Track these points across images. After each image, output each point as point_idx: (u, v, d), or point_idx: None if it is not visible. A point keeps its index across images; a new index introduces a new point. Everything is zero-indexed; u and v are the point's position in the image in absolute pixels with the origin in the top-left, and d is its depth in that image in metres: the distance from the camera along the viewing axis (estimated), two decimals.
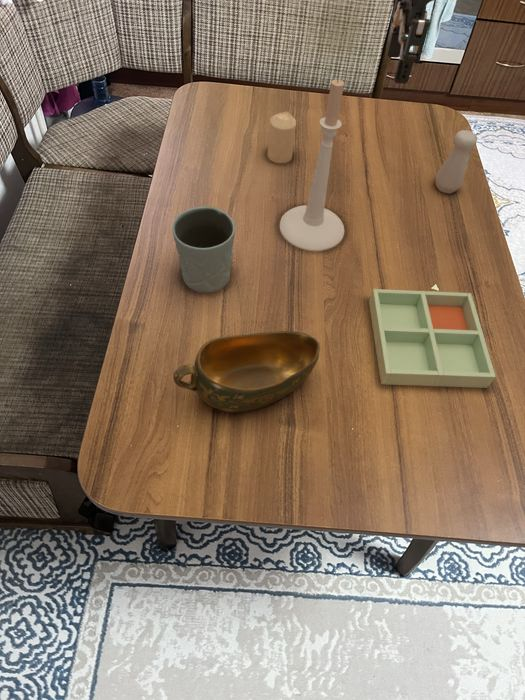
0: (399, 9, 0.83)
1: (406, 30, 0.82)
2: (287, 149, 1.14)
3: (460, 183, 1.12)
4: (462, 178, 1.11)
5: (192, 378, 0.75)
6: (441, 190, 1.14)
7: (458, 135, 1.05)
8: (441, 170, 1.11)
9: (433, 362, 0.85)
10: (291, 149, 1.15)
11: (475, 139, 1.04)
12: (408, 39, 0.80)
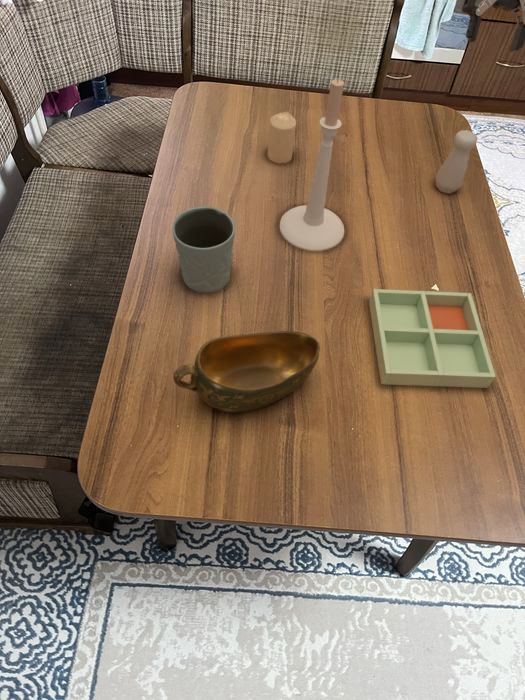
0: None
1: None
2: (287, 149, 1.14)
3: (460, 183, 1.12)
4: (462, 178, 1.11)
5: (192, 378, 0.75)
6: (441, 190, 1.14)
7: (458, 135, 1.05)
8: (441, 170, 1.11)
9: (433, 362, 0.85)
10: (291, 149, 1.15)
11: (475, 139, 1.04)
12: None
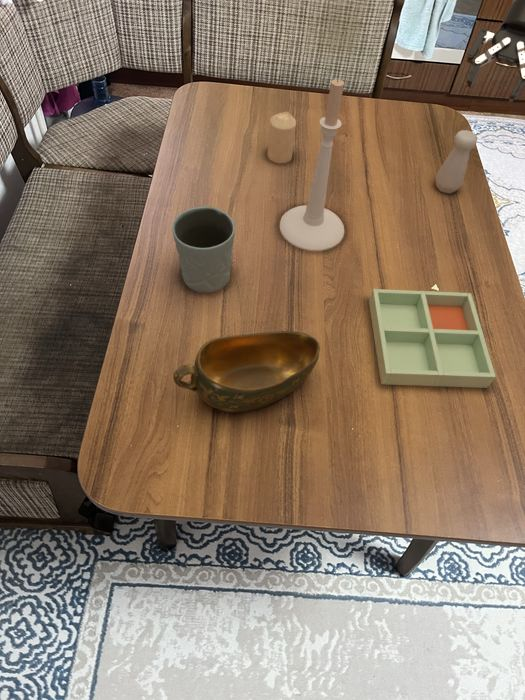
0: None
1: (494, 53, 1.06)
2: (287, 149, 1.14)
3: (460, 183, 1.12)
4: (462, 178, 1.11)
5: (192, 378, 0.75)
6: (441, 190, 1.14)
7: (458, 135, 1.05)
8: (441, 170, 1.11)
9: (433, 362, 0.85)
10: (291, 149, 1.15)
11: (475, 139, 1.04)
12: None
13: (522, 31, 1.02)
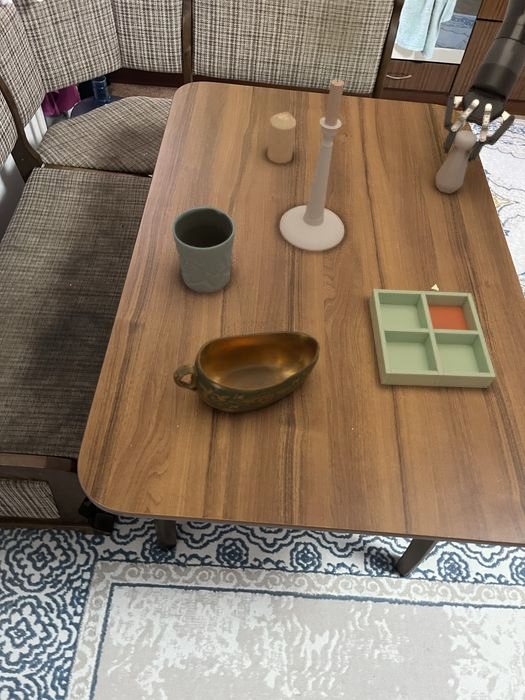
0: None
1: None
2: (287, 149, 1.14)
3: (460, 183, 1.12)
4: (462, 178, 1.11)
5: (192, 378, 0.75)
6: (441, 190, 1.14)
7: (458, 135, 1.05)
8: (441, 170, 1.11)
9: (433, 362, 0.85)
10: (291, 149, 1.15)
11: (475, 139, 1.04)
12: None
13: (490, 93, 1.03)
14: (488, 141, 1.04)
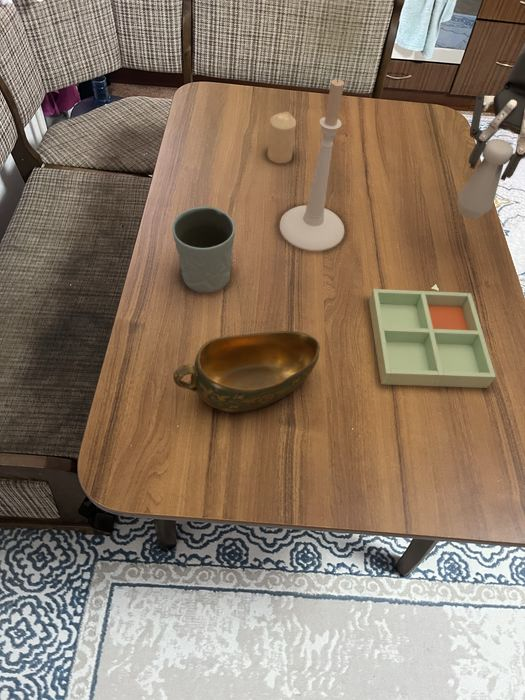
0: None
1: None
2: (287, 149, 1.14)
3: (489, 206, 0.88)
4: (492, 199, 0.87)
5: (192, 378, 0.75)
6: (465, 214, 0.90)
7: (489, 146, 0.81)
8: (465, 189, 0.88)
9: (433, 362, 0.85)
10: (291, 149, 1.15)
11: (511, 151, 0.81)
12: None
13: None
14: None
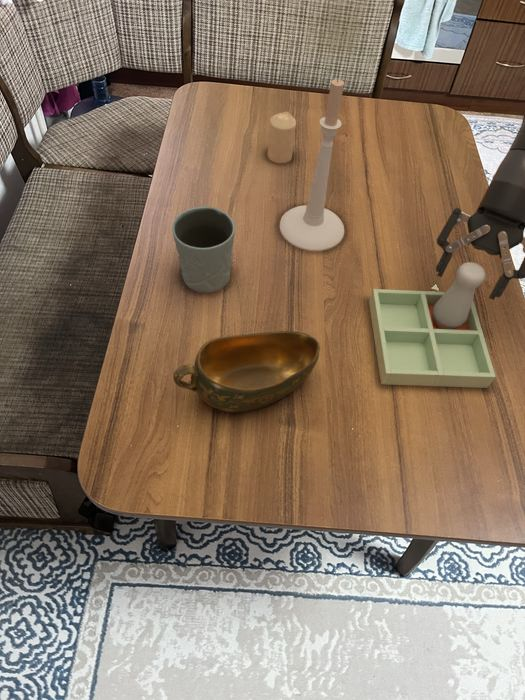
0: None
1: None
2: (287, 149, 1.14)
3: (464, 320, 0.89)
4: (466, 315, 0.88)
5: (192, 378, 0.75)
6: (440, 326, 0.91)
7: (461, 270, 0.82)
8: (440, 304, 0.89)
9: (433, 362, 0.85)
10: (291, 149, 1.15)
11: (483, 276, 0.82)
12: None
13: (505, 218, 0.79)
14: (516, 276, 0.80)
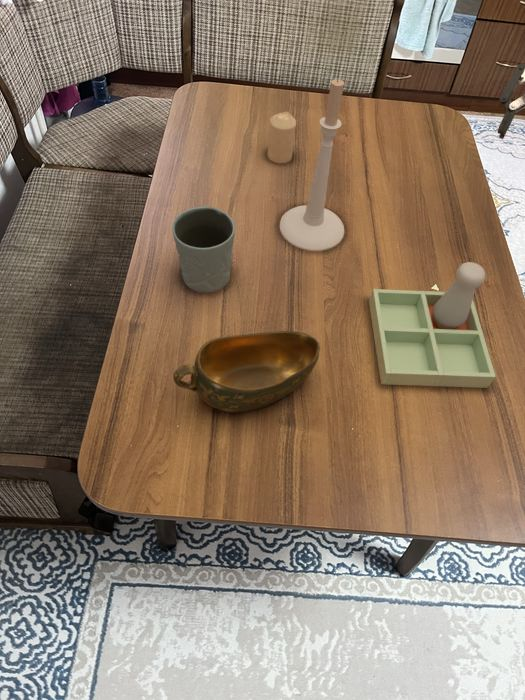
0: None
1: None
2: (287, 149, 1.14)
3: (464, 320, 0.89)
4: (466, 315, 0.88)
5: (192, 378, 0.75)
6: (440, 326, 0.91)
7: (461, 270, 0.82)
8: (440, 304, 0.89)
9: (433, 362, 0.85)
10: (291, 149, 1.15)
11: (483, 276, 0.82)
12: None
13: None
14: None
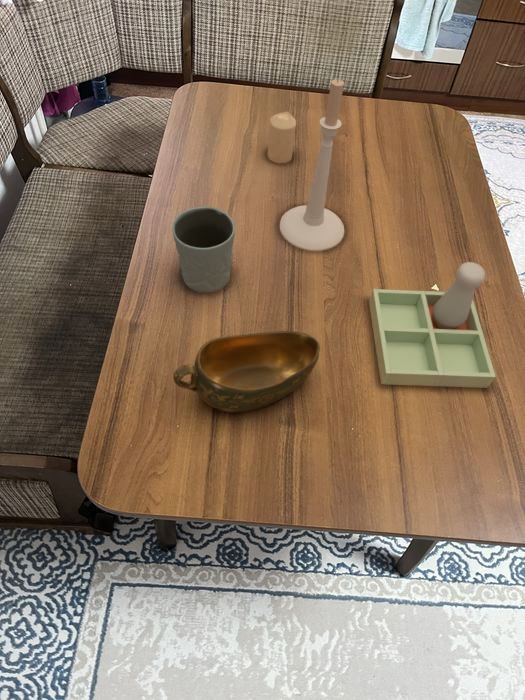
0: None
1: None
2: (287, 149, 1.14)
3: (464, 320, 0.89)
4: (466, 315, 0.88)
5: (192, 378, 0.75)
6: (440, 326, 0.91)
7: (461, 270, 0.82)
8: (440, 304, 0.89)
9: (433, 362, 0.85)
10: (291, 149, 1.15)
11: (483, 276, 0.82)
12: None
13: None
14: None
